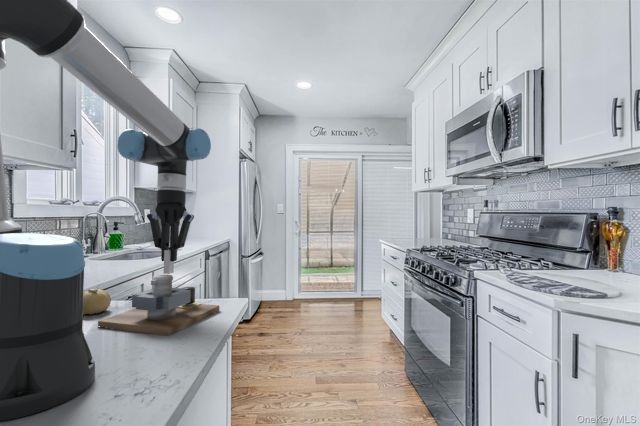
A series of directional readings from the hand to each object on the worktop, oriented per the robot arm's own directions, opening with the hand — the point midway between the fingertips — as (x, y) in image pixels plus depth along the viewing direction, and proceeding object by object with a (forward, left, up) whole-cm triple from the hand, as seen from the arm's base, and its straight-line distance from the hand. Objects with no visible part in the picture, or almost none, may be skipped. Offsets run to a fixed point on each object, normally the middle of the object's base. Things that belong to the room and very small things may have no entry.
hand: (168, 272), depth 92 cm
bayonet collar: (-6, -6, -8) cm, 12 cm away
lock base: (-7, -4, -11) cm, 13 cm away
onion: (-8, +18, -11) cm, 22 cm away
